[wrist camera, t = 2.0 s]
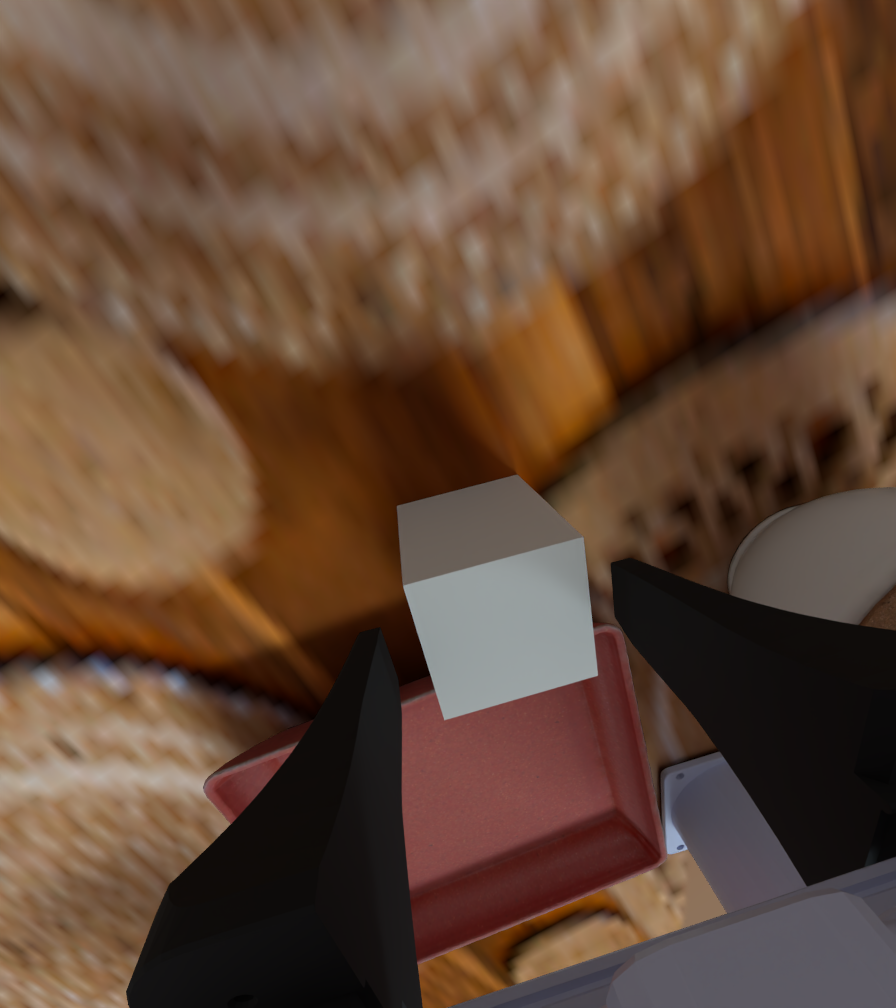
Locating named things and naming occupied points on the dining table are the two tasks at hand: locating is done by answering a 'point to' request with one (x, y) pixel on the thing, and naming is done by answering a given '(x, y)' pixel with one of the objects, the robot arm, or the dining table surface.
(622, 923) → the dining table surface
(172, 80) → the dining table surface
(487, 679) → the block
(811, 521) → the lidded jar
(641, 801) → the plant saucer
